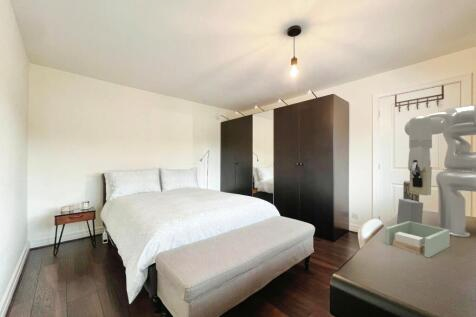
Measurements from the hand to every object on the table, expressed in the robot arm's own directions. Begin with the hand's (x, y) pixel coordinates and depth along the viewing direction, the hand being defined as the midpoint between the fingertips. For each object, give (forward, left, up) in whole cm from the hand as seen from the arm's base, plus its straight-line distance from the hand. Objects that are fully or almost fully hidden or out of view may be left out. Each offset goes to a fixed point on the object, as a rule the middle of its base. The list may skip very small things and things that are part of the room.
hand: (420, 186), depth 90 cm
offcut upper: (+10, 0, -23) cm, 25 cm away
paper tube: (-28, -14, -25) cm, 40 cm away
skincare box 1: (0, 0, -4) cm, 4 cm away
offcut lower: (+10, 0, -26) cm, 28 cm away
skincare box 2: (-18, -11, -25) cm, 33 cm away
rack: (+3, 0, -25) cm, 25 cm away
